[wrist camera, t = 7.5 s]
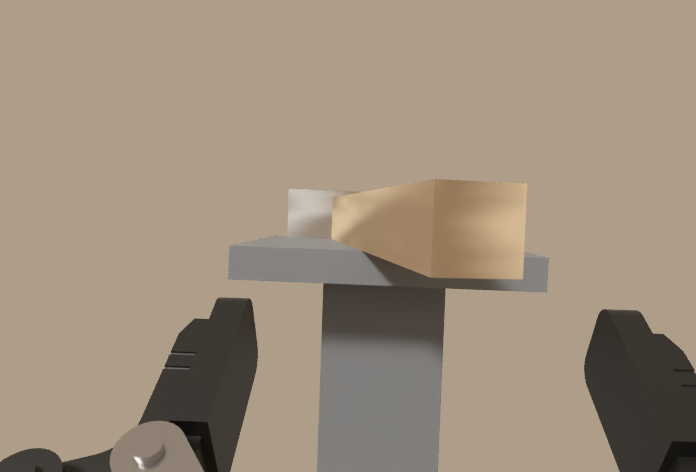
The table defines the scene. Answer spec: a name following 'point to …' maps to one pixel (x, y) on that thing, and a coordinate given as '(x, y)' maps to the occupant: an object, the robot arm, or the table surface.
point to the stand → (373, 346)
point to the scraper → (423, 225)
